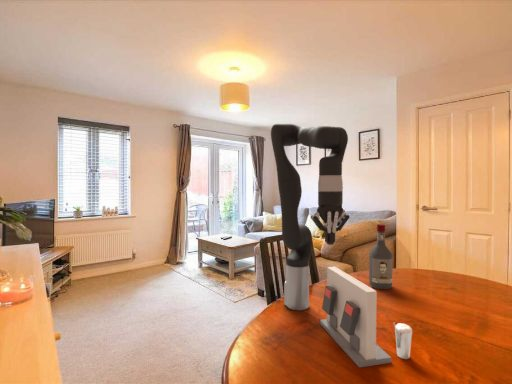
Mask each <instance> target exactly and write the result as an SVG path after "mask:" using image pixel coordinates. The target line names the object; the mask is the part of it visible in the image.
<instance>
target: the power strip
mask: <svg viewBox="0 0 512 384" xmlns="http://www.w3.org/2000/svg"><path fill="white" fill-rule="evenodd" d="M326 280H327V281H326V286H331V287H332V288H333V289H335V290H336V291H337V294H336V300H335V306H334V312H333V315H328V314H327V313H326V318H323V319H319V325H320V326H321V327H322V328H323V330H325V332H327V334H328V335H329V336H330V337H331V338H332V340H334V342H335V343H336V344H337V345H338V346H339V347H340V348H341V349H342V350H343V351H344V353H345V354H346V355H347V356H348V357H349V358H350V359H351V360H352V362H353V363H355V365H356V366H357V367H358V368H365V367H372V366H378V365H384V364H390V363H392V356H390V355H389V354H388V353H387V352H386V351H385V350H383V349H382V347H380V346H379V345H378V343H377V300H378V299H377V296H378V295H377V294H378V293H377V290H375V288H374V289H373V287H370V286H368V285H367V284H365V283H364V282H362V281H360V280H358V279H356V278H355V277H354V276H352V275H350V274H348V273H347V272H345V271H344V270H342V269H340V268H338V267H337V266H327V267H326ZM346 301H351V302H352V303H354V304H355V305H356V306H358V307H359V308H360V312H359V316H358V320H357V324H356V328H355V332H354V336H351V335H348V334H347V333H346V332H345V331H344V330H343V329H342V328H341V327H340V324H341V320H342V316H343V312H344V308H345V304H346Z"/></svg>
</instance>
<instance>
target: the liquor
mask: <svg viewBox="0 0 512 384" xmlns="http://www.w3.org/2000/svg"><path fill="white" fill-rule="evenodd" d="M385 232H386V224H383V223H382V224H381V223H380V224H376V244H375V245H374V246H373V247H372V248H371V249H370V250H369V255H368V256H369V259H368V260H369V261H368V263H369V265H368V266H369V267H368V269H369V270H368V271H369V273H368V274H369V275H368V280H369V284H370V285H371V288H372V289H373V288H374V289H377V290H390V289H392V287H393V254H392V253H393V252H392V251H390V249H389V247H387V245H386V243H385V239H386V237H385V236H386V234H385Z"/></svg>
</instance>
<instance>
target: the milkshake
mask: <svg viewBox="0 0 512 384" xmlns="http://www.w3.org/2000/svg"><path fill="white" fill-rule="evenodd" d="M392 324H393V326H394V333H395V343H396V355H397V357H399V358H400V359H403V360H409V359H410V357H411V347H412V346H411V345H412V339H413V338H412V337H413V329H412V327H411V326H410V325H408V324H406V323H401V322H399V323H397V324H395V322H392Z"/></svg>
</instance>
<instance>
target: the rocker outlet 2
mask: <svg viewBox="0 0 512 384" xmlns="http://www.w3.org/2000/svg"><path fill="white" fill-rule="evenodd" d="M359 312H360V308H359V307H358V306H356V305H355V304H354V303H352V302H351V301H346V304H345V308H344V312H343V316H342V320H341V324H340V327H341V328H342V329H343V330H344V331H345V332H346V333H347V334H348V335H351V336H354V332H355V328H356V324H357V320H358V316H359Z"/></svg>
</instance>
